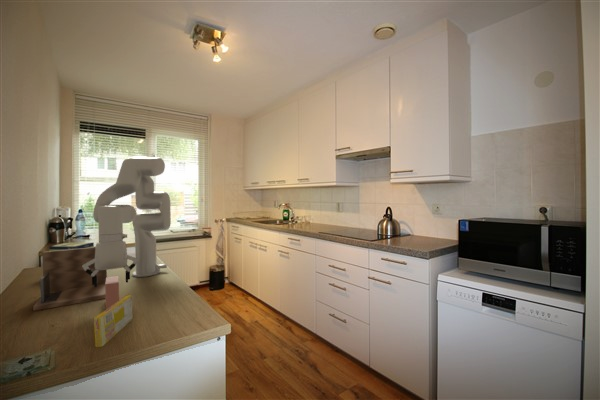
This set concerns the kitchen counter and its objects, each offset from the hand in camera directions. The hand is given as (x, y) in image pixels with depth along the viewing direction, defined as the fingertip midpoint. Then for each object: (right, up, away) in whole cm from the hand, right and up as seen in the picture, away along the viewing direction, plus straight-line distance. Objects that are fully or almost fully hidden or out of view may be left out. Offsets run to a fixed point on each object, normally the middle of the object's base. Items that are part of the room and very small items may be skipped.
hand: (111, 283), depth 104 cm
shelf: (-20, -8, +8) cm, 23 cm away
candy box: (+16, -8, -21) cm, 28 cm away
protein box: (-48, -7, +41) cm, 64 cm away
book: (0, -8, +1) cm, 8 cm away
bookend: (-25, -6, +3) cm, 26 cm away
